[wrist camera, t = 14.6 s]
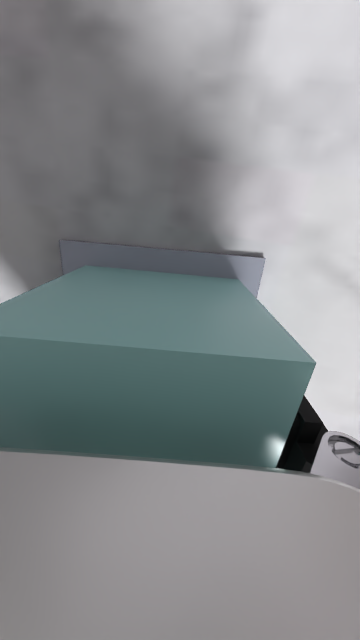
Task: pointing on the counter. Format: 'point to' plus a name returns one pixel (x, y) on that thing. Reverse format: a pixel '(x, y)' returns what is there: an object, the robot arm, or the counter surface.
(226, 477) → the robot arm
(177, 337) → the mint green block
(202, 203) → the counter surface
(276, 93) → the counter surface
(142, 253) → the grey square plate
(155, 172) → the counter surface
